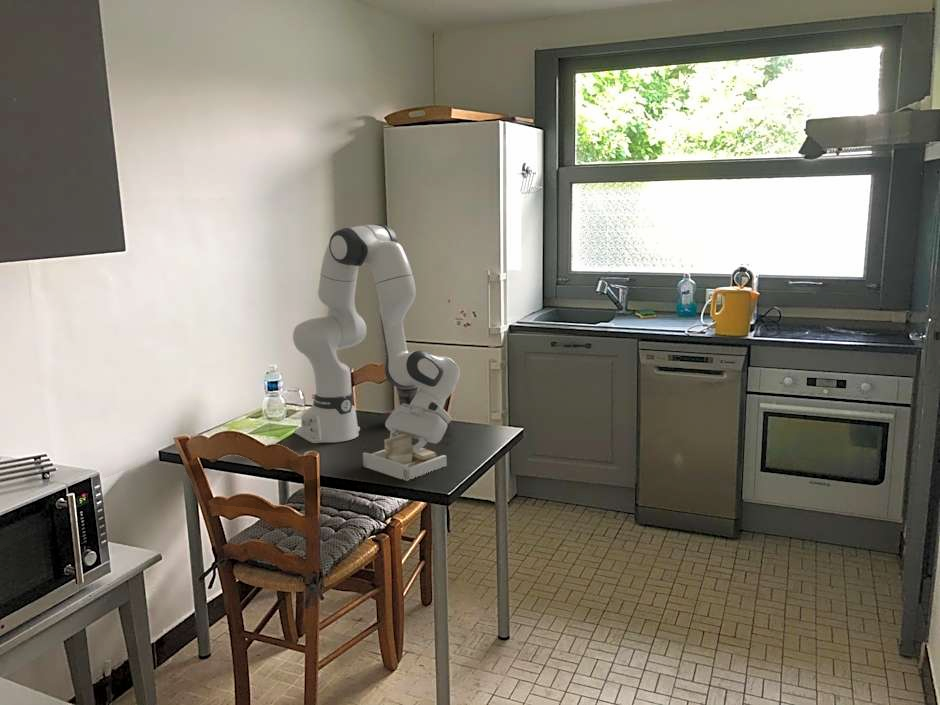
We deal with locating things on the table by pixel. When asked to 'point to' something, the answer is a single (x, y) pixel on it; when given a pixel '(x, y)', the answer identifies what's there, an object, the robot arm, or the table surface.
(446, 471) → the table surface
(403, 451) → the pale wooden block
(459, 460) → the table surface
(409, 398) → the beverage cup
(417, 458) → the offcut stack
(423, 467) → the tray
